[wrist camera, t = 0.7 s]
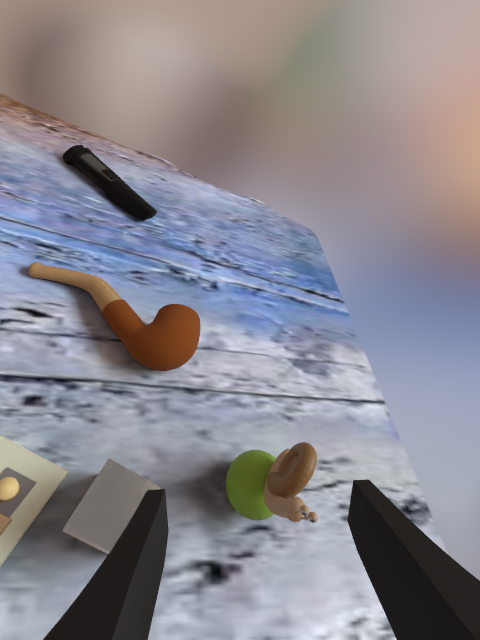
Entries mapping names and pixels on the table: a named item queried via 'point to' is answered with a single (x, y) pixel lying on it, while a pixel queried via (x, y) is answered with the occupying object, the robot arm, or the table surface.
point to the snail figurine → (271, 483)
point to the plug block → (108, 506)
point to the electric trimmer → (109, 182)
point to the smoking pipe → (136, 321)
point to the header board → (23, 490)
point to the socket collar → (4, 521)
